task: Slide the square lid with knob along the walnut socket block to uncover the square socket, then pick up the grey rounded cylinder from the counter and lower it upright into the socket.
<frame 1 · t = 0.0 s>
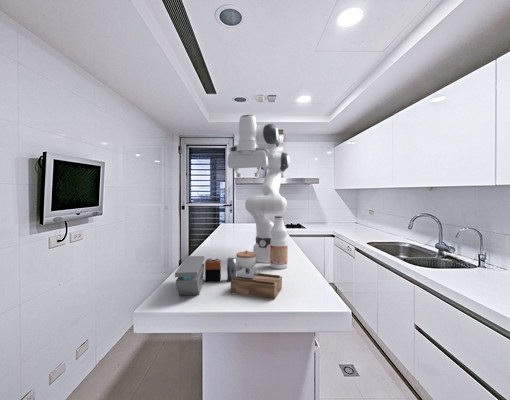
hand: (247, 176, 122), 48 cm above the counter, tool pointing down, fingers open, 8 cm apart
grey rounded cylinder: (231, 280, 115), on the counter
square lid with knob: (247, 272, 104), point 7 cm above the counter, slide at 0.0 cm
grey storage box: (191, 290, 104), on the counter
fruit juice: (278, 267, 138), on the counter
socket block: (256, 290, 103), on the counter
battery: (213, 280, 115), on the counter
lidded jar: (246, 268, 136), on the counter
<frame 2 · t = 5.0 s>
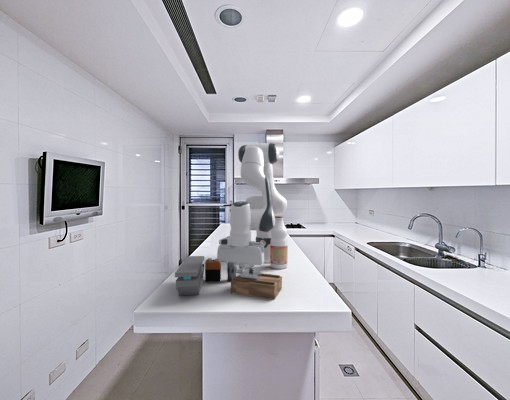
hand: (240, 273, 105), 6 cm above the counter, tool pointing down, fingers closed
square lid with knob: (251, 273, 104), point 7 cm above the counter, slide at 1.6 cm, touching gripper
everything else where it was.
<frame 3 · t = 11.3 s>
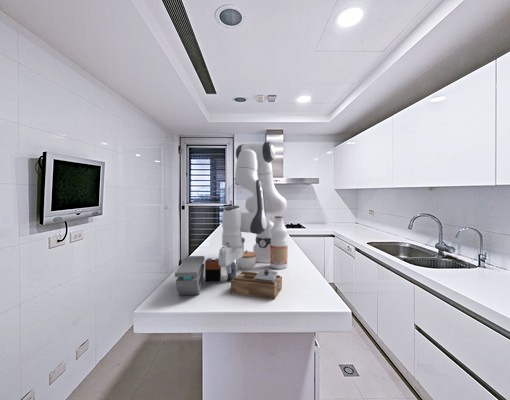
hand: (231, 271, 115), 4 cm above the counter, tool pointing down, fingers closed on grey rounded cylinder, 4 cm apart
grey rounded cylinder: (231, 280, 115), on the counter, touching gripper
square lid with knob: (267, 275, 101), point 7 cm above the counter, slide at 8.3 cm
everything else where it was.
when the fingers open (7 cm above the counter, at t = 16.7 s): grey rounded cylinder drops 2 cm, resting in socket block.
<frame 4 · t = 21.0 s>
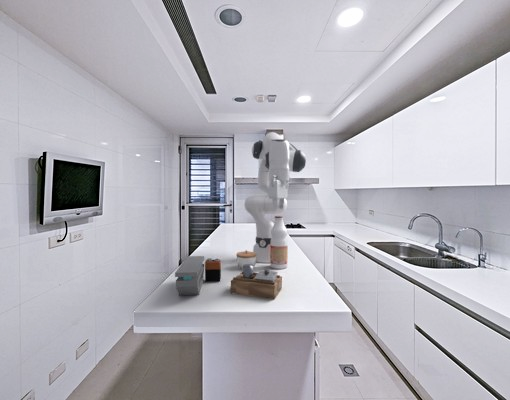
hand: (278, 209, 107), 33 cm above the counter, tool pointing down, fingers open, 8 cm apart
grey rounded cylinder: (247, 289, 104), resting in socket block
everything else where it was.
at the end: grey rounded cylinder 0.2 cm from the target spot on the socket block, point 0.0 cm above the socket block's base; grey rounded cylinder tilted 0°; square lid with knob slide at 8.3 cm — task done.
